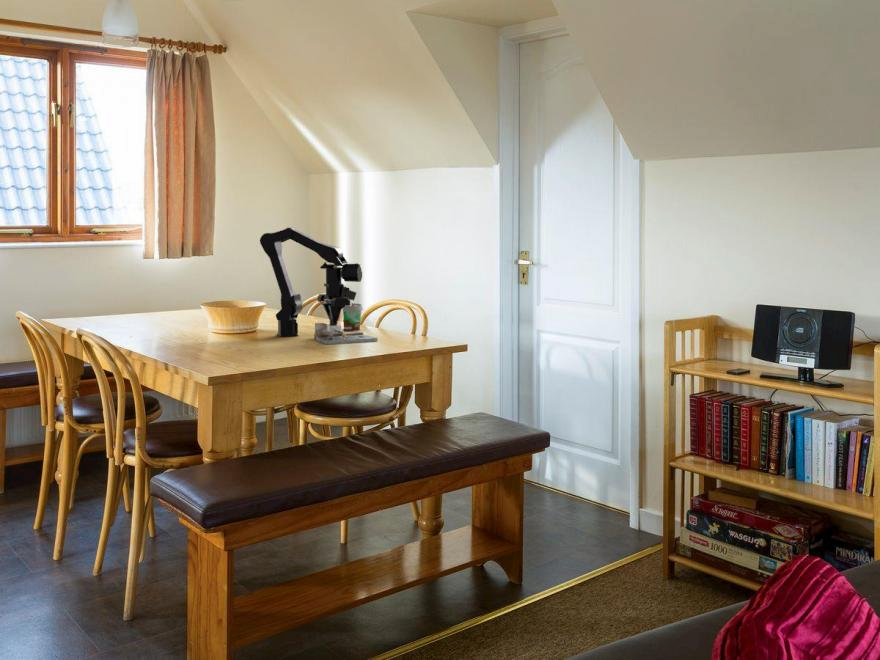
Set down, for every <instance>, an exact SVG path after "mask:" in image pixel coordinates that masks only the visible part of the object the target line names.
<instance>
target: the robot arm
mask: <svg viewBox="0 0 880 660" xmlns="http://www.w3.org/2000/svg"><path fill="white" fill-rule="evenodd" d="M289 240H291V241H293V242H295V243H297V244H299V245H301V246H303V247H304V248H307V249H309V250H311V251H313V252H315V253H316V254H317V255H318V256H319V257H320V258H321V259H323V260H324V261H325V262H324V263H323V264H322V265H321V266H320V269H321V270H323V269H325V283H323V287H325V293H319V294H318V296H317V302H318V303H321V305H322V307H323V309H324V311H325V314H326V315H327V318H328V320H329V321H330V313H331V316H332V320H333V323H334V324H336V323H337V321H339V317H340V314H341V311H342V310H343V307H345V306H351V301H355V299H356V296H357V292H356V291H354V290H350V287H347V286H345V285H344V283H342V280H343V281H344V282H351V283H355V282H356V283H361V281H362V279H363V270H362V267H361V263H357V262H356V263H349V261H348V260H347V259H346V257H345V255H344V252H343V250H342V248H340V247H338V246H335V245H332V244H328V243H323V242H321V241H320V240H318V239H316V238H314V237H312V236H310V235H307V234H306V233H303V232H302V231H299V230H297V229H296V228H295V227H286V228H285V229H282V230H279V231H275V232H266V233H263V234H262V235H261V236H260V238H259V244H260V245H261V247H262V249H263V251H264V253H265V254H266V255H267V257H268V258H269V260H270V264H271V267H272V270H273V272H274V275H275V280H276V283H277V285H278V289H279V291H280V305H281V309H280V310H279V311H278V312H277V313H276V314H275V318H276V320H277V333H276V336H280V337H282V338H283V337H285V338H286V337H298V336H299V334H298V333H299V329H298V328H299V324H298V322H297V319H298V316H299V314H301V312H302V310H303V305H304V302H303V300H302V296H301V294H300V293H296V292H295V291H294V289H293V287H292V282H291V280H290V278H289V274H288V270H287V268H286V264H285V261H284V258H283V255H282V254H283V253H282V252H283V245H282V243H285V242H287V241H289ZM322 302H323V303H322Z"/></svg>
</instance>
